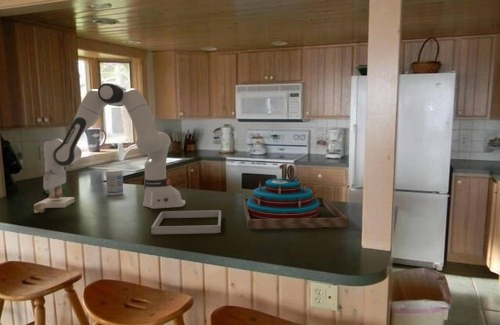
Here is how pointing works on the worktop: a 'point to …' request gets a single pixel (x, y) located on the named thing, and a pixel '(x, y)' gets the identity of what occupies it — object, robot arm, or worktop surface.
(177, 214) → the grey tray rim
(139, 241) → the worktop surface
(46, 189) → the flower vase
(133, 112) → the robot arm
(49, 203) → the plate
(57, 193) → the oak block
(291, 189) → the birthday cake
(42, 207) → the maple block
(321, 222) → the walnut cake board rim
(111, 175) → the supplement tub
